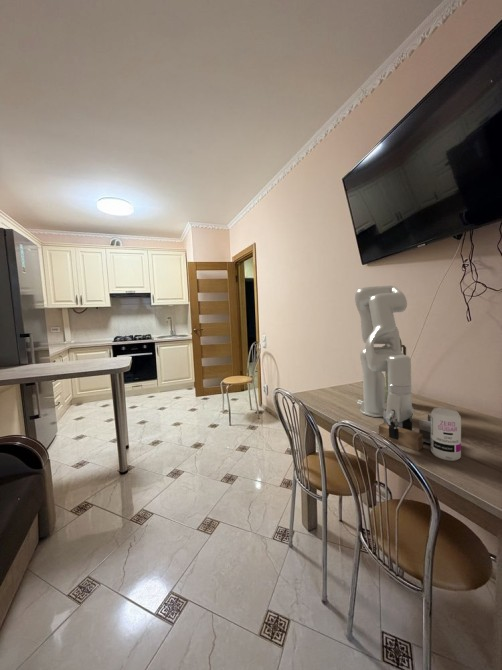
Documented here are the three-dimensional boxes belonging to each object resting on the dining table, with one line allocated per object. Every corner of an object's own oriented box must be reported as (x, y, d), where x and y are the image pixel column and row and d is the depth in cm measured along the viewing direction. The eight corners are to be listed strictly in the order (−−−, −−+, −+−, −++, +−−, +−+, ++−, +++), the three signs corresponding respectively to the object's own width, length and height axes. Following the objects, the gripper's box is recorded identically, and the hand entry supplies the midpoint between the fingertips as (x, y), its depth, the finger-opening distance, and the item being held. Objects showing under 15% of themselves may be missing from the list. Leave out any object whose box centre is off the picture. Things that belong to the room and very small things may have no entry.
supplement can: (447, 448, 94) (447, 406, 93) (467, 460, 86) (467, 415, 85) (425, 449, 94) (424, 407, 92) (442, 462, 85) (442, 417, 84)
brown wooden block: (379, 437, 104) (378, 425, 104) (384, 434, 107) (384, 422, 106) (418, 451, 93) (418, 437, 93) (423, 447, 95) (423, 434, 95)
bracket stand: (382, 429, 111) (382, 409, 110) (392, 424, 115) (392, 405, 114) (434, 447, 95) (434, 423, 94) (444, 440, 99) (444, 417, 99)
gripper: (401, 383, 106) (402, 425, 107) (376, 391, 96) (378, 438, 97) (421, 386, 100) (422, 431, 101) (397, 395, 90) (399, 445, 91)
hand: (400, 434), depth 99 cm, fingers open, 9 cm apart
